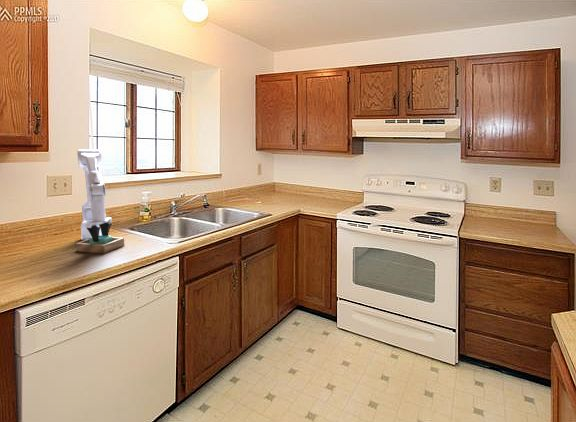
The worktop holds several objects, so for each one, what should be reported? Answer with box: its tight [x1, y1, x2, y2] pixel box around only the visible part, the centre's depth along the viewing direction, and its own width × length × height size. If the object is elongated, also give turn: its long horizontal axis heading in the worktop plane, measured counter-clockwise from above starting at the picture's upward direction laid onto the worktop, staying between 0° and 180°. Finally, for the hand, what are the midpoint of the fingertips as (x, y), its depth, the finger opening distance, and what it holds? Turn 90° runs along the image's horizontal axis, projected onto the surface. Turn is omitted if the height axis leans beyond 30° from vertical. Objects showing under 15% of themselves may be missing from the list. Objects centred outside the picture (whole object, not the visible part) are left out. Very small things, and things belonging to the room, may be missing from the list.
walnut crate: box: [75, 236, 125, 254], centre depth 174 cm, size 14×14×4 cm
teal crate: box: [89, 235, 113, 245], centre depth 174 cm, size 8×5×4 cm, turn 78°
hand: (100, 240), depth 174 cm, fingers open, 5 cm apart
